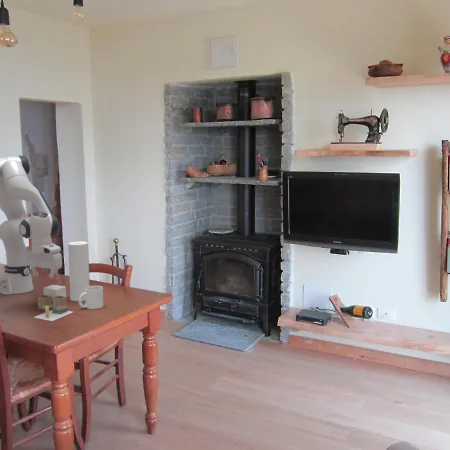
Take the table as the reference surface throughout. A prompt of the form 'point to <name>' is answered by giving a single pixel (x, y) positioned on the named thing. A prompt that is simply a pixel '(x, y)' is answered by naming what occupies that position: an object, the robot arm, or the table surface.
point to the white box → (55, 291)
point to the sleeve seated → (59, 304)
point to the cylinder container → (78, 269)
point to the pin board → (51, 315)
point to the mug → (92, 297)
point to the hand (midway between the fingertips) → (43, 276)
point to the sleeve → (44, 302)
